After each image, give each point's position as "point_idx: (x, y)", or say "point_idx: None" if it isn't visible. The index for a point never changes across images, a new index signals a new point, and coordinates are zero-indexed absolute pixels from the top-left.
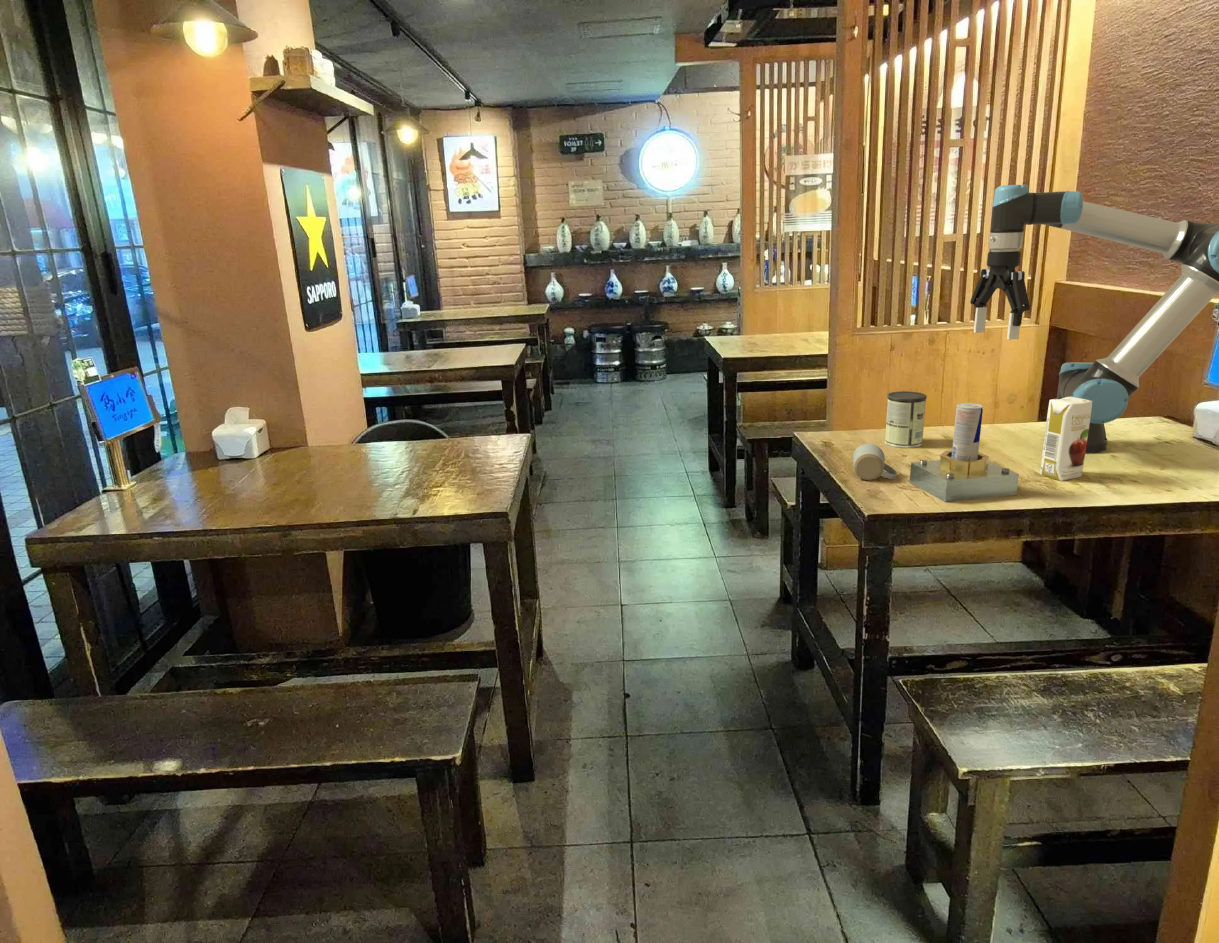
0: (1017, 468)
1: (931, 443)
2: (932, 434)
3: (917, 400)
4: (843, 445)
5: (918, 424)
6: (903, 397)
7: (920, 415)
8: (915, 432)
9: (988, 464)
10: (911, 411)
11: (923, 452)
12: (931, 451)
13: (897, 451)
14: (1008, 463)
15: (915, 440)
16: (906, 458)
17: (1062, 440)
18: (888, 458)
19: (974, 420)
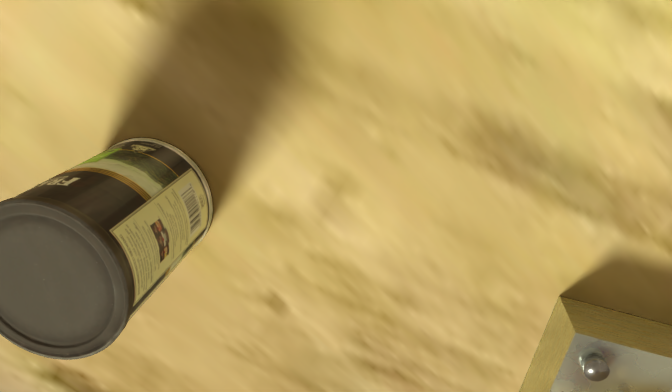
0: (588, 117)
1: (191, 119)
2: (85, 14)
3: (132, 299)
4: (103, 359)
5: (177, 233)
6: (75, 323)
7: (160, 241)
8: (191, 232)
9: (659, 378)
10: (149, 292)
11: (271, 227)
12: (274, 197)
13: (225, 284)
14: (527, 92)
15: (202, 217)
16: (301, 318)
17: None
18: (276, 357)
19: None
